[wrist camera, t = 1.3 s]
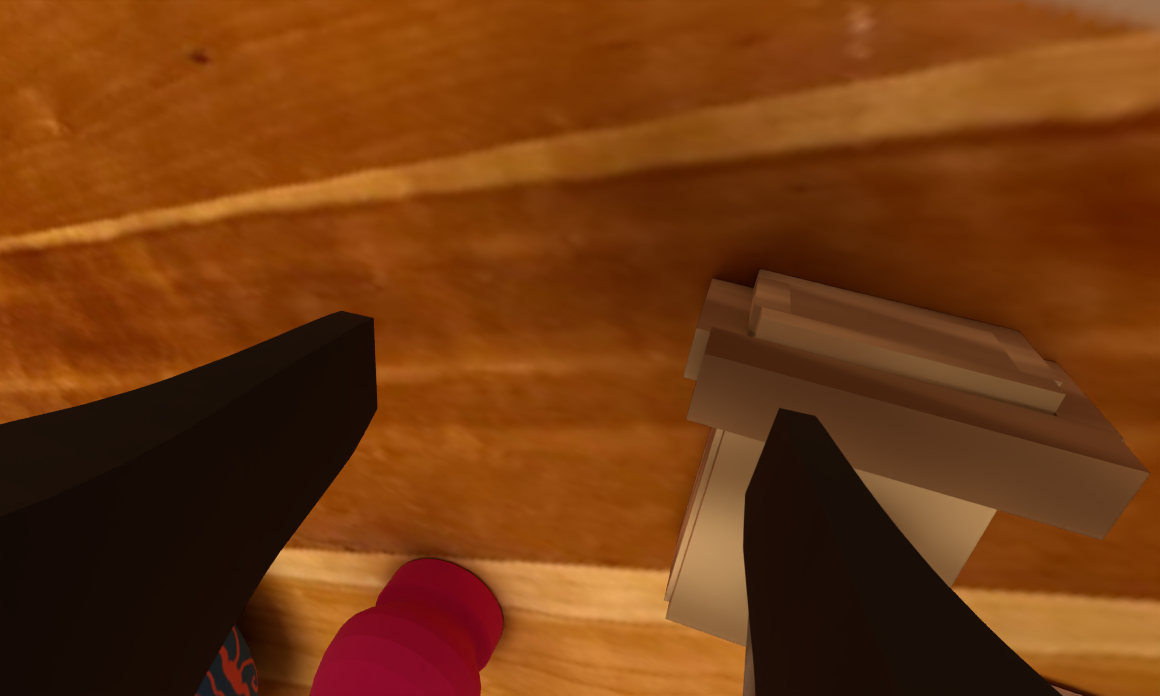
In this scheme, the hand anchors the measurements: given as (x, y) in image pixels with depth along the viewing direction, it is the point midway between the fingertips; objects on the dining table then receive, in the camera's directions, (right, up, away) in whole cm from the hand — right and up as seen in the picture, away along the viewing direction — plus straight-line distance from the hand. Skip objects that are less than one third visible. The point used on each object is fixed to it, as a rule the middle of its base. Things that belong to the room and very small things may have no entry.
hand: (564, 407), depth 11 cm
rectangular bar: (+9, -1, +6) cm, 10 cm away
